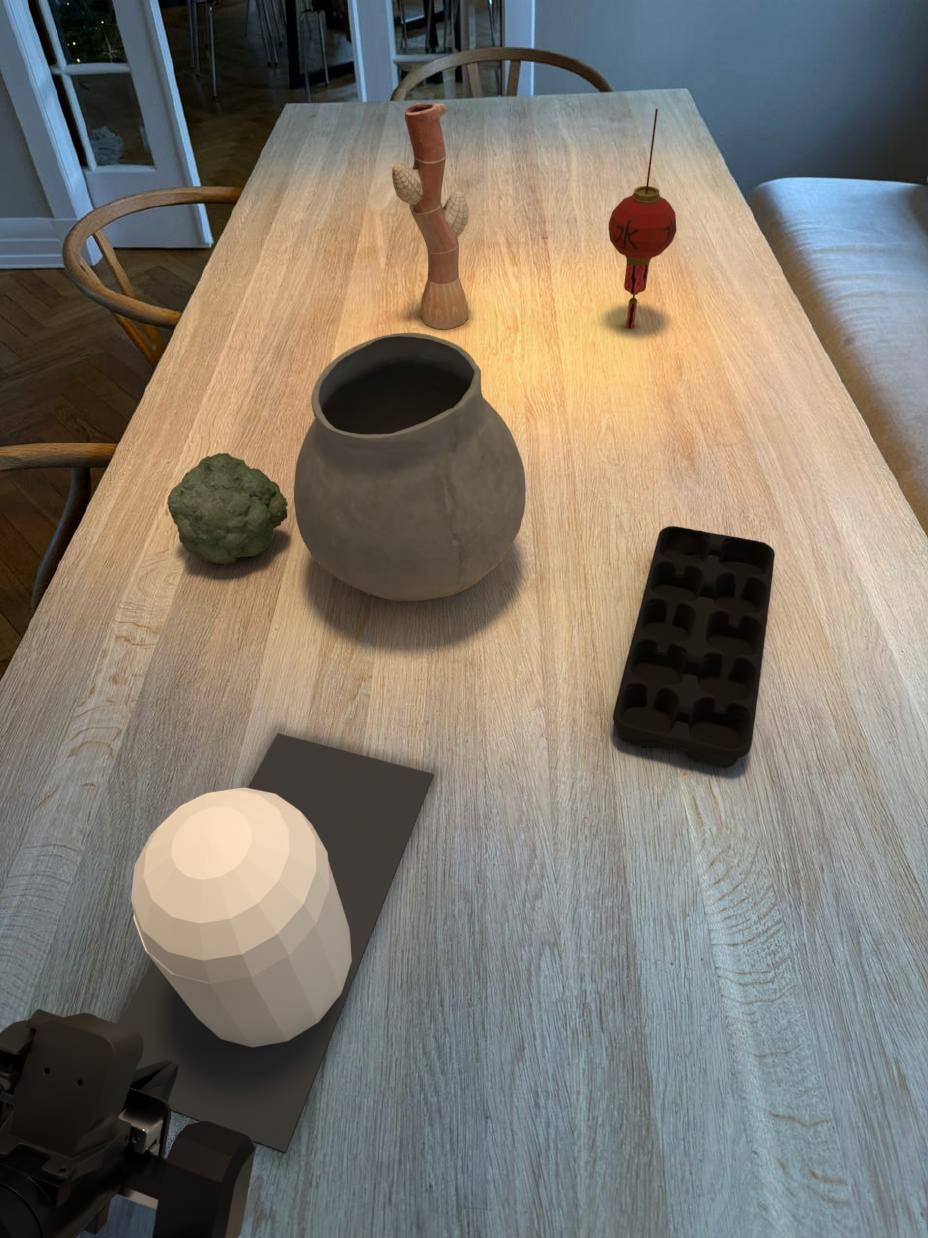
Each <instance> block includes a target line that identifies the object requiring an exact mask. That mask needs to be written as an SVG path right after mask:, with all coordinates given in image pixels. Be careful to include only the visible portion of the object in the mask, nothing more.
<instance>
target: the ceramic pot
mask: <svg viewBox="0 0 928 1238" xmlns="http://www.w3.org/2000/svg"><path fill="white" fill-rule="evenodd" d="M310 403H311V404H310V405H311V410H312V413H313V416H314V418H313V420H312V422H311V425H310V427H309V428H308V429H307V432H306V434H305V436H304V439H303V442H302V444H301V447H300V450H299V453H298V457H297V460H296V464H295V472H294V482H293V483H294V484H293V485H294V486H293V504H294V514H295V519H296V524H297V528H298V531H299V534H300V537H301V539H302V541H303V543H304V545H305V547H306V549H307V551H308V552H309V553H310V555H311V556H312V558H313V559H314V561H315V562H316V563H317V564H318V565H319V566H321V568H323V569H324V570H325V571H326V572H328V573H329V574H331V575H332V576H334V577H335V578H337V579H339V580H340V581H341V582H343V583H344V584H346V585H348V586H351V587H353V588H355V589H357V590H359V591H361V592H363V593H366V594H368V595H371V596H374V597H377V598H381V599H384V600H391V601H404V602H407V601H408V602H413V601H414V602H417V601H428V600H435V599H440V598H445V597H451V596H453V595H457V594H460V593H461V592H463V591H465V590H467V589H469V588H470V587H472V586H474V585H476V584H477V583H478V582H479V581H481V580H482V579H483V578H485V577H486V575H488V574H489V573H490V572H492V570H493V569H495V568H496V567H497V566H498V565H499V564H500V563H501V561H502V559H503V558H504V557H505V555H506V554H507V553H508V551H510V549H511V547H512V546H513V544H514V542H515V540H516V538H517V536H518V534H519V533H520V530H521V526H522V522H523V518H524V515H525V508H526V495H527V494H526V491H527V488H526V487H527V486H526V485H527V484H526V472H525V467H524V463H523V459H522V457H521V454H520V451H519V448H518V445H517V443H516V441H515V438H514V436H513V434H512V431H510V428H509V426H508V425H507V424H506V422H505V420H504V418H503V417H502V416H501V415H500V414H499V413H498V412H497V411H496V409H495V408H494V407H493V406H492V405H491V404H490V402H489V401H488V400H487V399H486V398H485V397H484V396H483V392H482V370H481V369H480V366H479V365H478V364H477V363H476V361H475V359H474V358H473V356H472V355H471V354H470V353H469V352H468V351H467V350H465V349H464V348H463V347H461V346H460V345H458V344H456V343H455V342H452V341H449V340H447V339H444V338H441V337H438V336H435V335H430V334H427V333H420V332H398V333H391V334H387V335H380V336H378V337H377V336H376V337H374V338H372V339H369V340H367V341H364V342H362V343H360V344H356V345H355V346H353V347H351V348H348V349H347V350H345V351H344V352H342V353H341V354H339V355H338V356H337V357H336V358H334V359H333V360H332V361H331V362H330V363H328V365H327V366H326V367H325V368H324V369H323V370H322V372H321V373H320V375H318V378H317V379H316V381H315V384H314V386H313V390H312V393H311V401H310Z"/></svg>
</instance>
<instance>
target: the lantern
mask: <svg viewBox="0 0 928 1238" xmlns="http://www.w3.org/2000/svg"><path fill="white" fill-rule="evenodd" d="M658 111H659V109H658V108H655V112H654V118H653V128H652V136H651V143H650V151H649V152H650V153H649V160H648V169H647V178H646V185H642V186H637V187H636V188H635V189H634V190H633V193H632V194H631V195H629V196H627V197H624V198H623V199H622V200H621V201H620V202H619V203H618V204H617V205H616V207H615V208H614V209H613V210H612V211H611V214H610V216H609V221H608V236H609V241H610V243H611V244H612V245H613V247H614V248H615V249H616V251H617V252H618V253H619V254H620V255H622V256H624V257H625V258H626V265H625V274H624V282H623V288H624V291H626V292H628V293H629V294H630V295H632V297H631V298H630V299H629V300H628V306H627V307H628V308H627V317H626V323H625V324H626V325H625V326H626V328H627V329H628V330H629V329H630V330H632V329H634V328H635V322H636V314H637V308H638V299H637V298H636V296H637V295H639V294H640V293H642V292H645V291H646V289H647V282H648V277H649V267H650V263H651V260H652V259H654V258H655V257H657V256H658V257H659V256H660V255H661V254H663V253H664V251H665V250H667V248H669V247H670V245H672V243H673V241H674V238H675V237H676V233H677V228H678V227H677V216H676V212H675V209H674V207H672V205H671V203H670V202H669V201H668V200H667V199H666V198H664V197H662V196H661V194H660V190H659V189H658V187H655V186H651V185H649V184H650V176H651V169H652V159H653V151H654V143H655V137H656V136H655V135H656V127H657V119H658Z"/></svg>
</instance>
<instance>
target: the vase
mask: <svg viewBox="0 0 928 1238" xmlns="http://www.w3.org/2000/svg"><path fill="white" fill-rule="evenodd" d="M447 112H448V108H447V106H446V105H445V104H444V103H437V102H434V103H418V102H417V103H415V104H413V105H410V106H409V107H408V108H406V110H405V112H404V120H405V125H406V127H407V131H408V136H409V140H410V144H411V147H412V153H413V166H412V167H410V166H408V165H406V164H403V163H395V164H394V165H393V167H392V170H391V178H392V186H393V189H394V191H395V194H396V197H398V199H400V201H401V202H404V203H407V204H409V210H410V213H411V215H412V218H413V220H414V222H415V224H416V226H417V228H418V230H419V231H420V234H421V236H422V238H423V240H424V243H425V246H426V251H427V278H426V282H425V285H424V288H423V292H422V296H421V300H420V317H421V319H422V321H423V323H424V324H425V326H428V327H430V328H432V329H436V330H449V329H454V328H455V329H456V328H458V327H460V326H462V325H464V324H465V323H466V321H467V320H468V319H469V308H468V302H467V296H466V294H465V290H464V287H463V284H462V282H461V278H460V272H459V269H460V268H459V258H460V244H459V239H458V238H459V237H460V236H461V235H462V233H463V232H464V231H465V229H466V226H467V224H468V221H469V207H468V203H467V199H466V197H465V195H464V194H463V193H462V192H461V191H453V193H452V194H450V196H448V198H447V200H446V201H445V202H444V205H443V204H442V192H443V191H442V190H443V182H444V177H445V175H444V174H445V167H446V160H447V153H446V145H445V139H444V136H443V131H442V126H441V122H440V120H441V117H443V116H444V115H445V114H447Z"/></svg>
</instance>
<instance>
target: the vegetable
mask: <svg viewBox="0 0 928 1238" xmlns="http://www.w3.org/2000/svg"><path fill="white" fill-rule="evenodd" d="M166 504H167V508H168V512H169V513H170V516H171V518H172V520H173V523H174V524H175V525H176V527H177V532H178V539H179V543H181V544H182V547H183V548H184V550H185V551H187V552H188V553H189V554H193V555H196V556H197V557H198V558H199V559H202V560H204V561H205V562H208V563H215V564H217V565H218V564H221V565H231V564H235V563H236V562H237V559H238V558H240V557H242V558H243V557H256V556H258V555H259V554H263V553H265V552H266V551H267V550H268V547H269V546H270V545H271V542H272V540H273V539H274V530H275V529H276V528H278V527H280V526H281V525H282V523H283V522H284V521H285V520H286V519H287V518H288V509H287V506H288V505H289V504H288V501H287V498H286V497H284V495H283V493H281V489H280V485H279V484H278V483H277V482H276V481H273V480H271V479H270V478H269V477H268V475H266V474H265V473H264V472H263V471H262V470H260V468H251V467H250V466H248V465H247V464H246V462H245V459H241V458H237V457H235V456H234V457H233V456H232V455H231V454H230V453H229V452H226V453H225V452H224V453H222V452H218V453H216V454H213V455H211V456H209V455H207V456H205V457H203V458H202V459H201V460H200V461H199V462H198V464H197V465H196V466H194V467H193V468H191V469H190V470H189V471H187V472H186V473H185V474H184V475H183V477H182V478H181V481H180V482H179V483H177V484H176V486H174V487H172V489H171V491H170V492H169V495H167V502H166Z"/></svg>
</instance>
